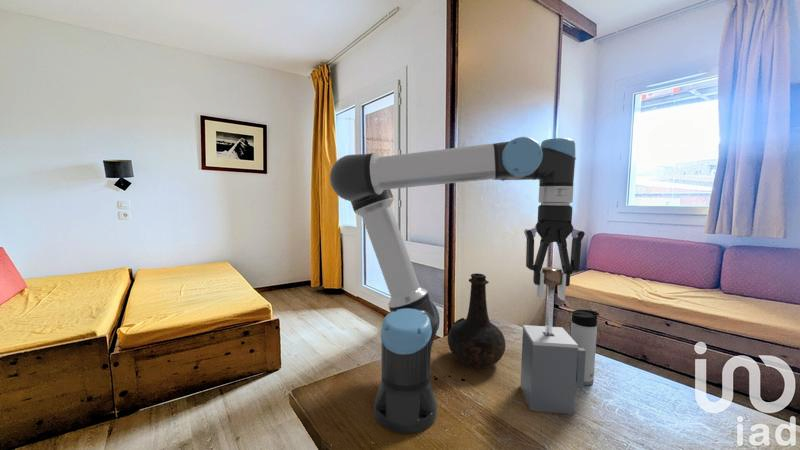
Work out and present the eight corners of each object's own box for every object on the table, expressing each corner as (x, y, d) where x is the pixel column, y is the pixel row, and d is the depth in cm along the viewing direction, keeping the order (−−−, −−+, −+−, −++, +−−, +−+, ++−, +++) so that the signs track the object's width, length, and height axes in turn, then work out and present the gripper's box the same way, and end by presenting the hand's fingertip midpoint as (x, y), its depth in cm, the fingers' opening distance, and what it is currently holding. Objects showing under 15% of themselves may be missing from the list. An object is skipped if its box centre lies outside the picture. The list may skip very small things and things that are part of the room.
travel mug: (598, 387, 87) (603, 316, 85) (572, 384, 88) (576, 314, 86) (589, 374, 93) (593, 308, 91) (565, 372, 94) (569, 306, 92)
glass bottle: (470, 342, 113) (473, 265, 110) (516, 363, 99) (520, 275, 97) (435, 358, 102) (436, 272, 99) (481, 383, 88) (484, 285, 85)
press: (530, 410, 77) (533, 341, 76) (520, 385, 87) (523, 325, 86) (590, 415, 75) (594, 345, 74) (573, 390, 85) (576, 328, 84)
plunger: (540, 364, 79) (545, 270, 77) (535, 355, 83) (539, 267, 81) (559, 365, 78) (564, 271, 76) (553, 356, 82) (558, 267, 80)
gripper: (521, 204, 75) (517, 301, 77) (601, 205, 72) (595, 304, 74) (514, 203, 82) (511, 291, 84) (586, 204, 79) (581, 295, 82)
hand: (550, 297), depth 79 cm, fingers closed on plunger, 4 cm apart
